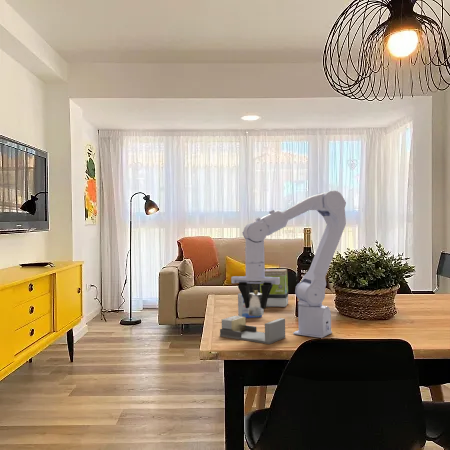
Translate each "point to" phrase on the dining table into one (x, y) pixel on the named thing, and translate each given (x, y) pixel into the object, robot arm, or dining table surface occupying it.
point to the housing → (255, 304)
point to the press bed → (271, 335)
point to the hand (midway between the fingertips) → (255, 308)
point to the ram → (234, 323)
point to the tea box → (275, 288)
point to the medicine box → (244, 308)
